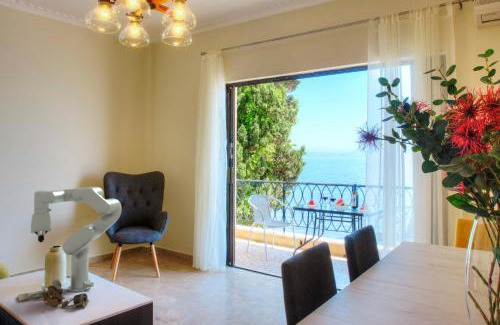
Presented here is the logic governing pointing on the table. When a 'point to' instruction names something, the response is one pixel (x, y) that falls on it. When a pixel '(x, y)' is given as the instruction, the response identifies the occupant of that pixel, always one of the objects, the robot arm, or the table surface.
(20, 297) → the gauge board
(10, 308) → the table surface
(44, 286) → the plunger
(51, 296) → the wooden carving
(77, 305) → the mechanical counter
